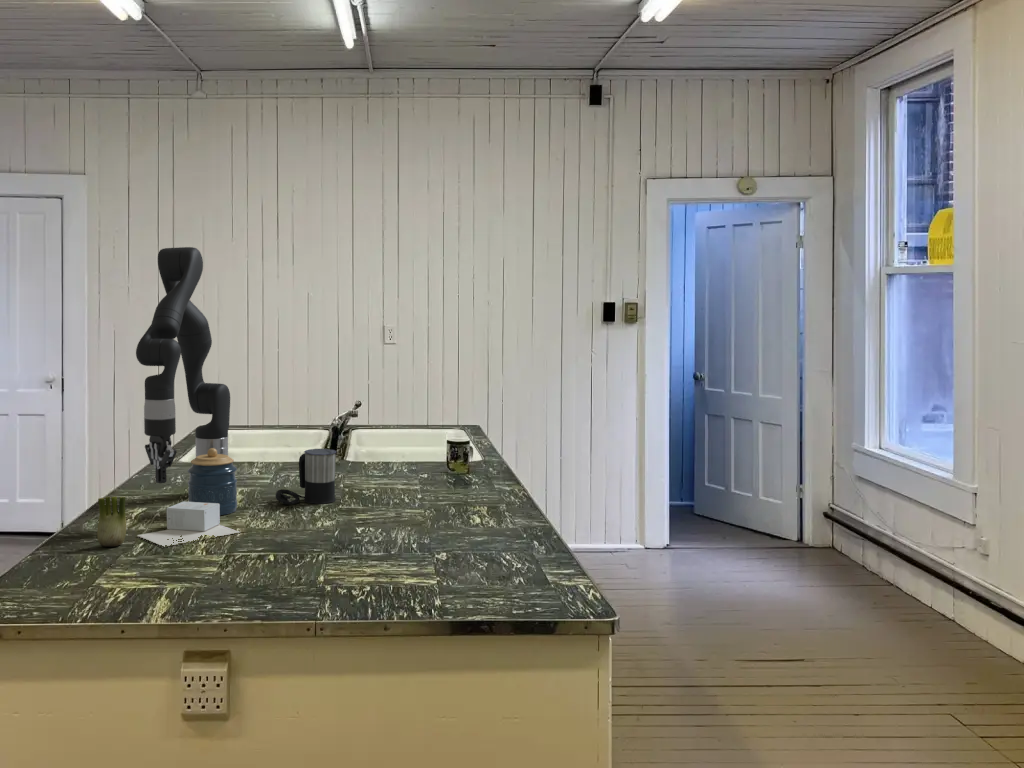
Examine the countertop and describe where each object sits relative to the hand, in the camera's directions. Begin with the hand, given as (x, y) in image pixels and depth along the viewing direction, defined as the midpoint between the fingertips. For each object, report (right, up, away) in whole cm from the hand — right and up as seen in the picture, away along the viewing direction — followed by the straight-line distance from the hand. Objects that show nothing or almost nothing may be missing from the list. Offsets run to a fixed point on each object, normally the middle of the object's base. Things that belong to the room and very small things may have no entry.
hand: (161, 482), depth 239 cm
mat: (+11, -12, -9) cm, 18 cm away
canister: (+8, -10, +16) cm, 21 cm away
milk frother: (+31, -9, +30) cm, 44 cm away
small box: (+4, -8, -2) cm, 9 cm away
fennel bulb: (-4, -13, -20) cm, 25 cm away
